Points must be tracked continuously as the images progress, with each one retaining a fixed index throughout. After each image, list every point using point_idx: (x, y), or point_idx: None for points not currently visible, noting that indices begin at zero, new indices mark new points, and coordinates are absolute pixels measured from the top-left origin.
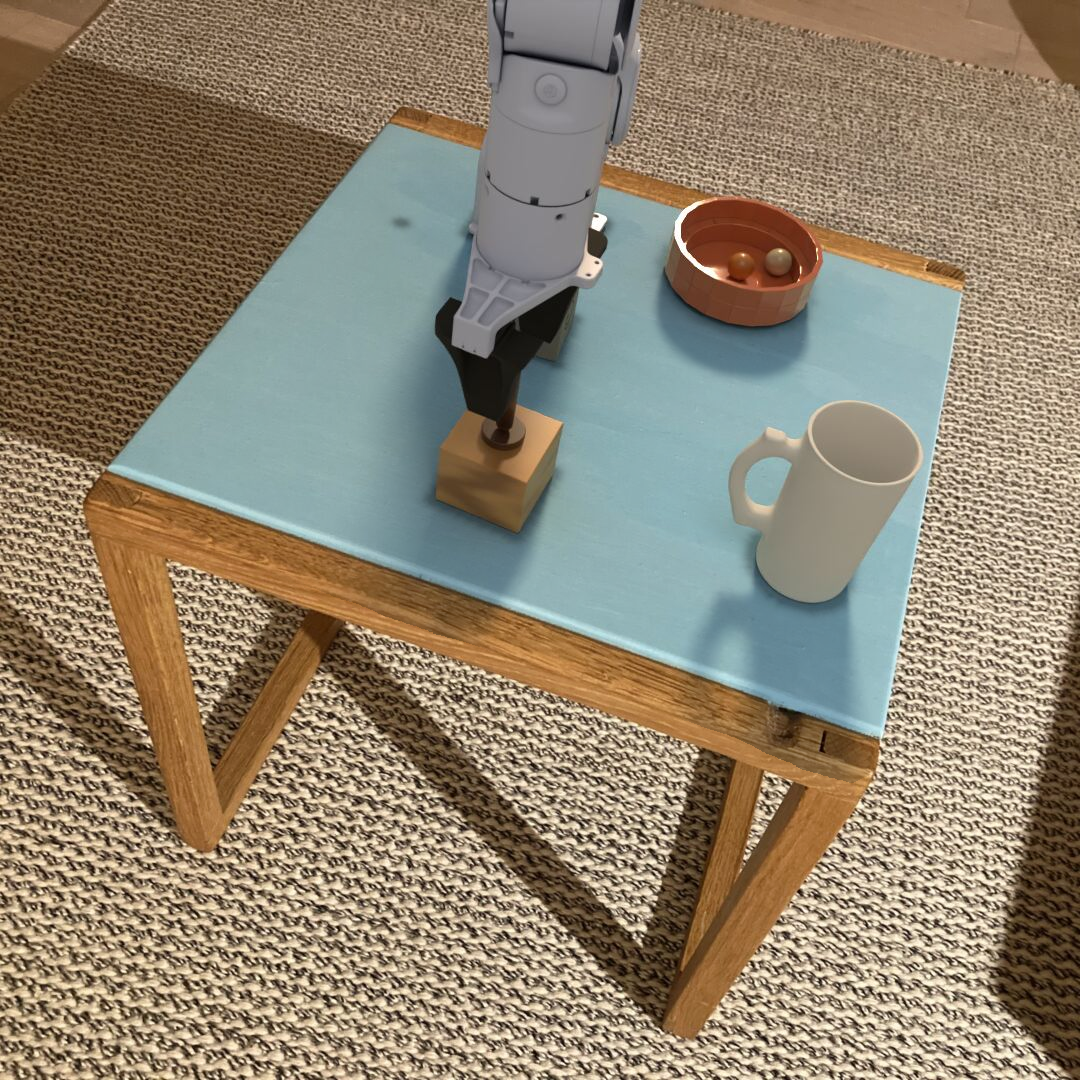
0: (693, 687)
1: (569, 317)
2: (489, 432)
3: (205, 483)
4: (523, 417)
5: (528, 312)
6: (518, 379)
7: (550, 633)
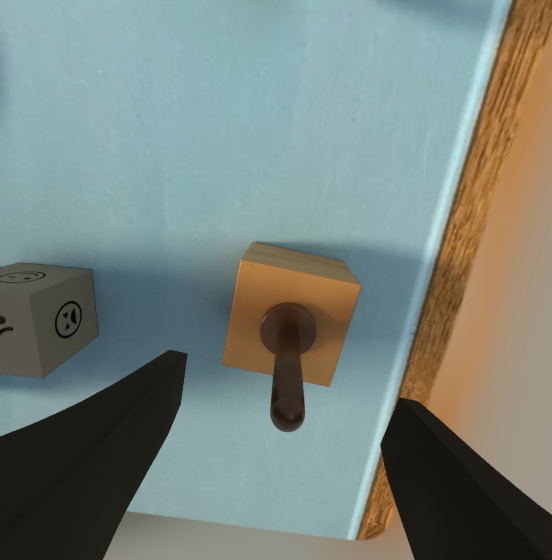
0: (525, 19)
1: (24, 274)
2: (301, 347)
3: (349, 493)
4: (249, 309)
5: (159, 437)
6: (294, 384)
7: (463, 204)
